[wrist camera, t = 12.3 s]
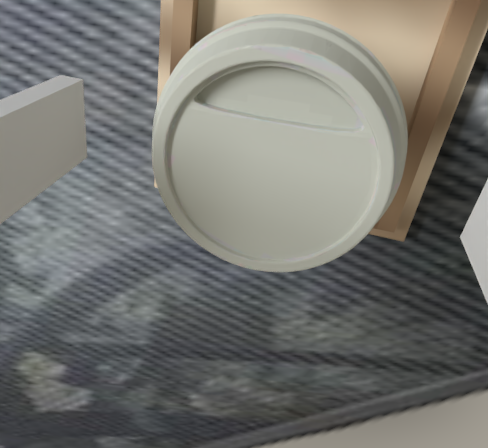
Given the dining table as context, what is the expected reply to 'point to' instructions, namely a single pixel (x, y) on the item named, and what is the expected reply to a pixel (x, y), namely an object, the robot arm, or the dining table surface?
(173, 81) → the coffee cup
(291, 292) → the dining table surface
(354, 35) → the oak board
